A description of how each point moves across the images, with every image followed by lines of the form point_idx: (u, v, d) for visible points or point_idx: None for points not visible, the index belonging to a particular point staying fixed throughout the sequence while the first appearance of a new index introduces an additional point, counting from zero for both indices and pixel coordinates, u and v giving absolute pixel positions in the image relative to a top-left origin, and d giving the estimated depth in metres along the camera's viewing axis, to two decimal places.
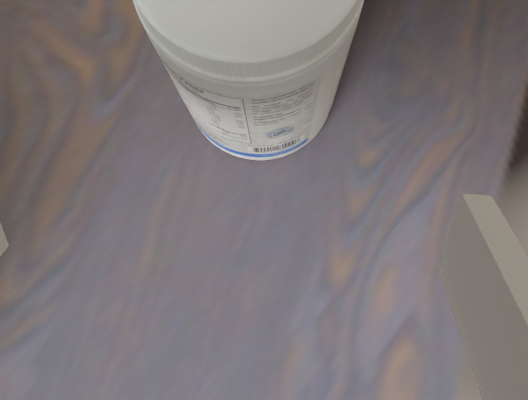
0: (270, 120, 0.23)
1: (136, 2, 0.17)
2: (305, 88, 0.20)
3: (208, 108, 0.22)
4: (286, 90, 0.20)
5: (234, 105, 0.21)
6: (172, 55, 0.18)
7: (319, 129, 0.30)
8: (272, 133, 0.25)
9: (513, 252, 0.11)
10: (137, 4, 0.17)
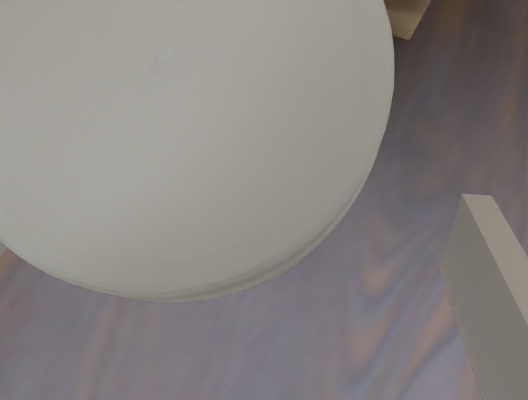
0: None
1: None
2: (279, 274, 0.12)
3: None
4: None
5: None
6: None
7: None
8: None
9: (513, 252, 0.11)
10: None
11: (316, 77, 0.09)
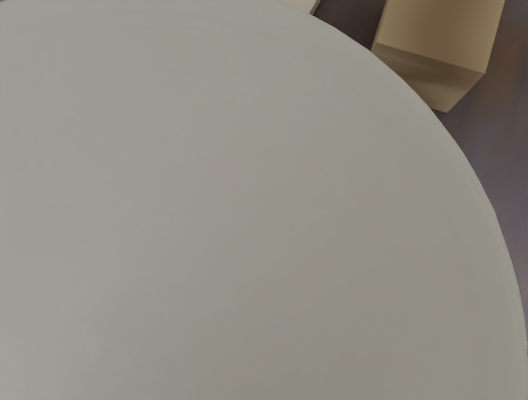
0: None
1: None
2: None
3: None
4: None
5: None
6: None
7: None
8: None
9: None
10: None
11: (391, 389, 0.05)
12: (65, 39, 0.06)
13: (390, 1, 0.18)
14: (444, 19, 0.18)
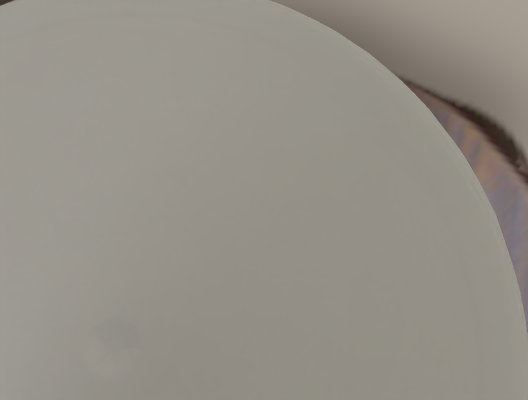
0: None
1: None
2: None
3: None
4: None
5: None
6: None
7: None
8: None
9: None
10: None
11: (393, 394, 0.05)
12: (66, 43, 0.06)
13: None
14: None
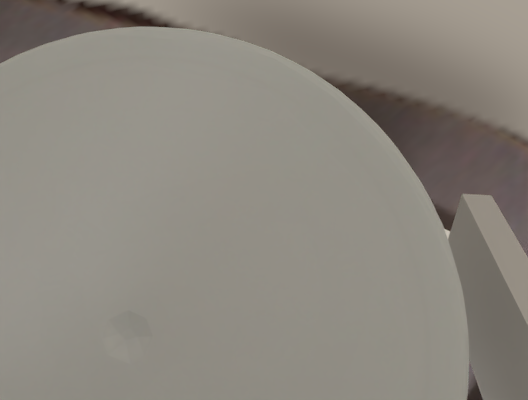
0: None
1: None
2: None
3: None
4: None
5: None
6: None
7: None
8: None
9: (513, 252, 0.11)
10: None
11: (356, 373, 0.06)
12: (85, 82, 0.07)
13: None
14: None
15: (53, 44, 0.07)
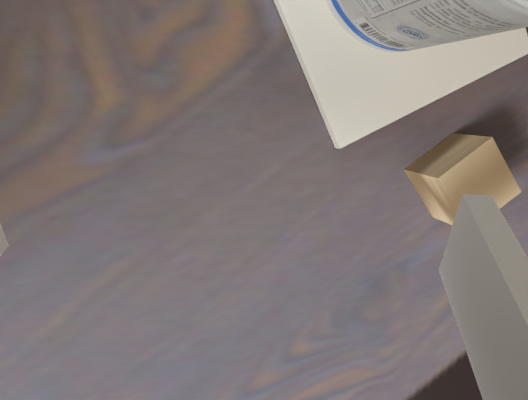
0: (429, 20, 0.20)
1: None
2: (503, 24, 0.18)
3: None
4: (495, 15, 0.17)
5: None
6: None
7: None
8: (406, 28, 0.22)
9: (513, 252, 0.11)
10: None
11: None
12: None
13: (461, 160, 0.27)
14: (476, 190, 0.28)
15: None
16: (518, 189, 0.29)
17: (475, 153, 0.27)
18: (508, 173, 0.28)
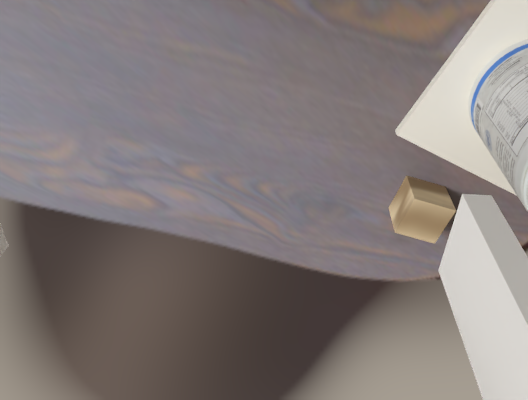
0: (498, 149, 0.33)
1: None
2: (513, 188, 0.32)
3: (518, 114, 0.31)
4: (515, 183, 0.31)
5: (514, 143, 0.31)
6: None
7: None
8: (488, 136, 0.35)
9: (513, 252, 0.11)
10: None
11: None
12: None
13: (432, 204, 0.42)
14: (420, 221, 0.44)
15: None
16: (435, 241, 0.45)
17: (441, 208, 0.43)
18: (440, 231, 0.44)
